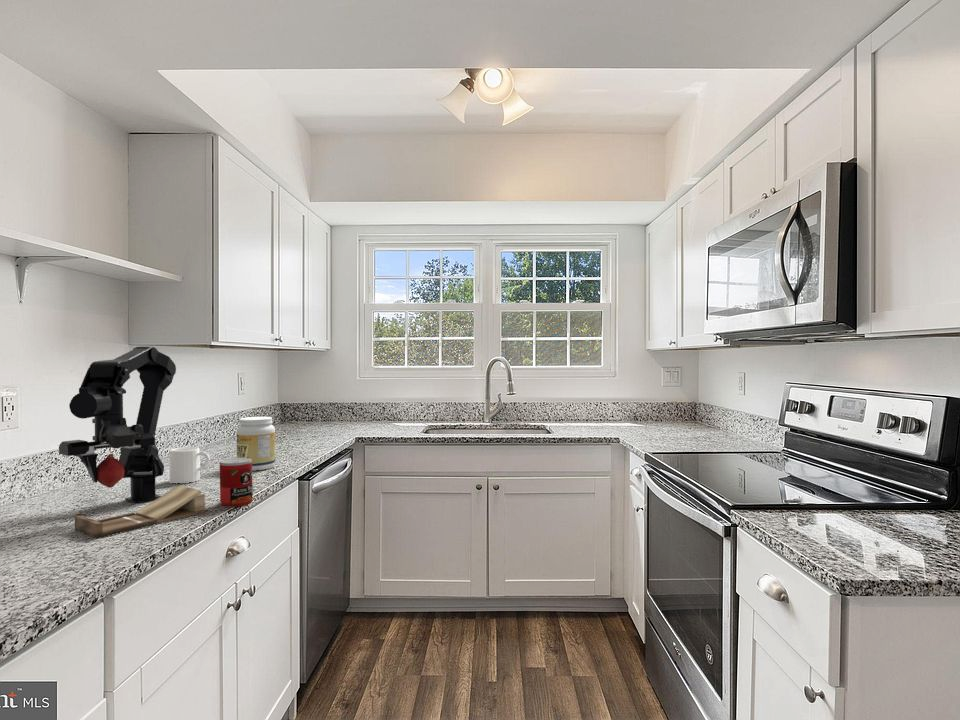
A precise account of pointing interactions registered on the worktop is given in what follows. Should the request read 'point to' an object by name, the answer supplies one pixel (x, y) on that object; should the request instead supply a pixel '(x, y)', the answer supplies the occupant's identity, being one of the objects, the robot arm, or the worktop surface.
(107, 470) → the onion
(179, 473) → the mug
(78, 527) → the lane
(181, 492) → the ramp
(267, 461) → the supplement tub
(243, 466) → the canned food
